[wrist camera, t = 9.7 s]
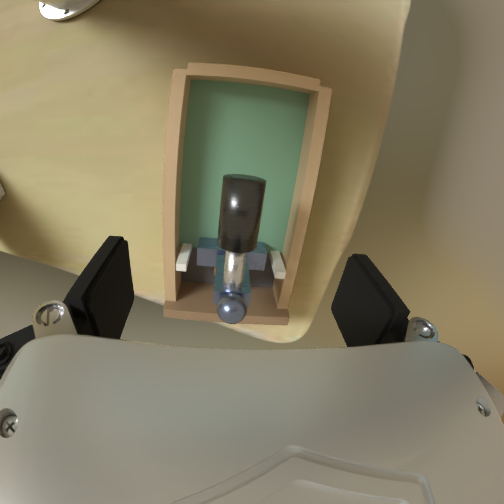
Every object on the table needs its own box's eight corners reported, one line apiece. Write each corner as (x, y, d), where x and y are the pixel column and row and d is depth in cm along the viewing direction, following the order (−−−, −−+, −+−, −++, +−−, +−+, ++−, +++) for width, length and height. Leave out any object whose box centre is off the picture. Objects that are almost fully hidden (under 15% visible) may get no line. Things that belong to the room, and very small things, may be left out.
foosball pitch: (183, 70, 22) (170, 59, 17) (318, 87, 24) (339, 81, 18) (172, 286, 34) (163, 317, 29) (279, 294, 36) (287, 325, 30)
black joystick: (205, 158, 25) (186, 186, 15) (276, 165, 26) (306, 198, 16) (198, 261, 30) (185, 334, 20) (260, 266, 31) (273, 339, 21)
